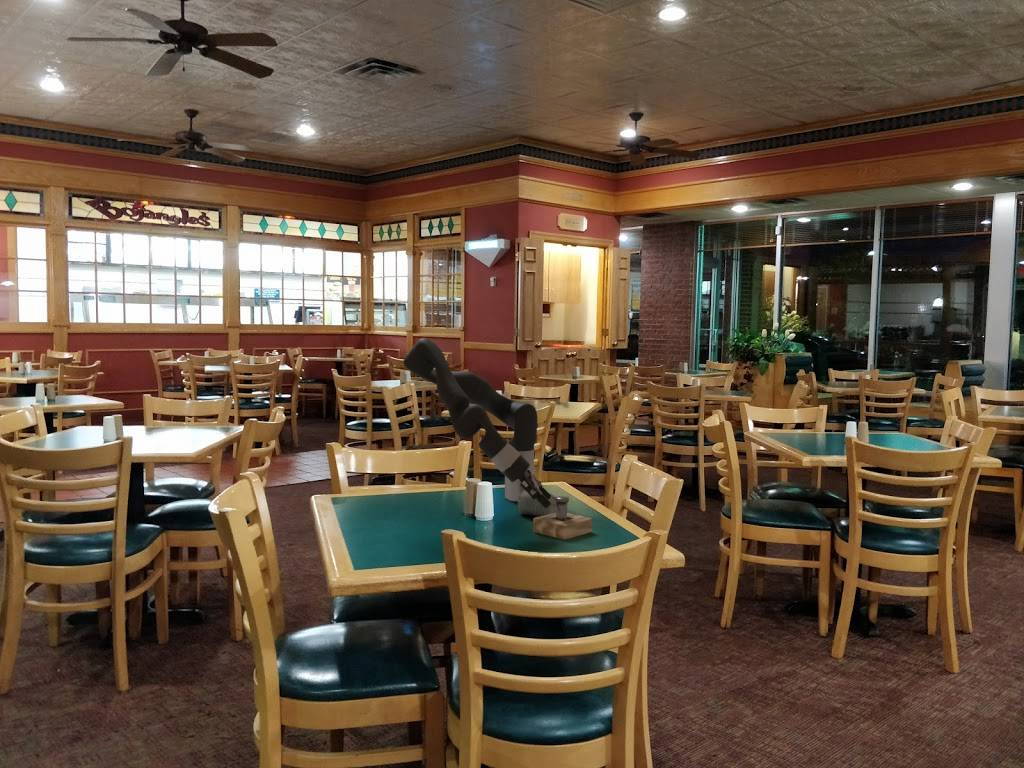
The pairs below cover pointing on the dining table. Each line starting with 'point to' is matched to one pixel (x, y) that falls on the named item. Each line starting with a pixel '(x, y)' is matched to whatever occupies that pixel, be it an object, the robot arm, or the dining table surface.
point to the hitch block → (562, 526)
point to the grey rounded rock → (535, 505)
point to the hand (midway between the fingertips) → (548, 502)
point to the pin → (561, 508)
